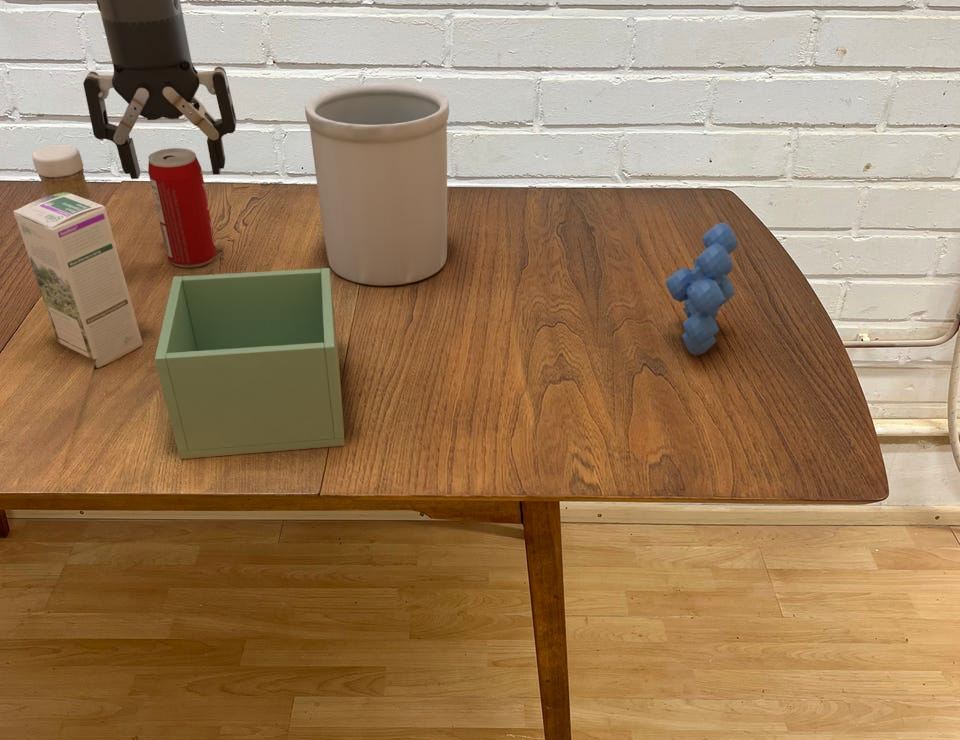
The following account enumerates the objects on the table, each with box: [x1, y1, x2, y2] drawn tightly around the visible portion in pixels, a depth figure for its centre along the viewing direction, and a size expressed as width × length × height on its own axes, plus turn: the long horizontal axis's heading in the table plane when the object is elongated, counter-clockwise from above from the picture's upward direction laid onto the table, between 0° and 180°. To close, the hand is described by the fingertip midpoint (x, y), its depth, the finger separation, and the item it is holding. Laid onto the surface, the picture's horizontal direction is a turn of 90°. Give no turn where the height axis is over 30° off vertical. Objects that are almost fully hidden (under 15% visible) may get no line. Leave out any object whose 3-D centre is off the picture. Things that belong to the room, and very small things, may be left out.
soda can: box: [147, 147, 217, 269], centre depth 98 cm, size 6×6×12 cm
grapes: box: [665, 221, 739, 357], centre depth 86 cm, size 12×7×12 cm, turn 161°
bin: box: [154, 267, 346, 460], centre depth 77 cm, size 14×14×10 cm
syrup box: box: [12, 192, 144, 369], centre depth 82 cm, size 6×6×14 cm
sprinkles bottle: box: [31, 144, 93, 202], centre depth 95 cm, size 5×5×13 cm
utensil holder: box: [304, 82, 450, 287], centre depth 97 cm, size 15×15×18 cm
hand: (176, 174), depth 96 cm, fingers open, 8 cm apart
